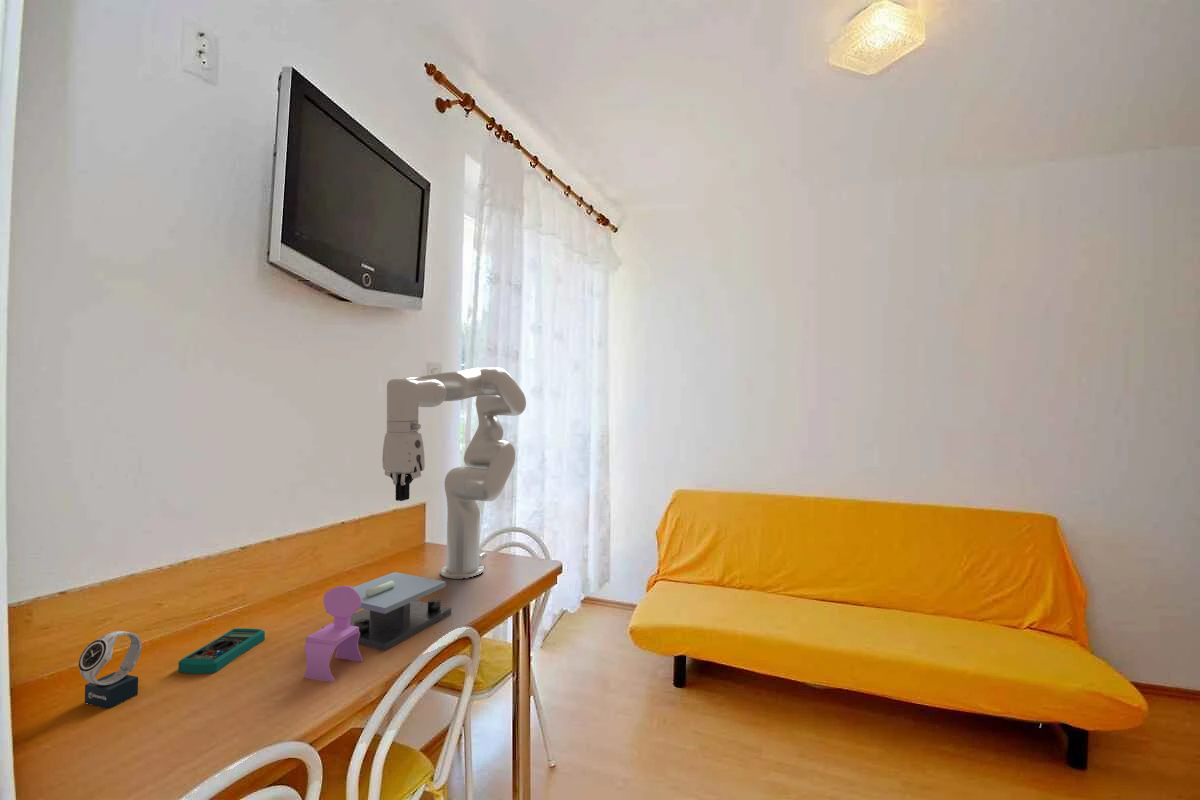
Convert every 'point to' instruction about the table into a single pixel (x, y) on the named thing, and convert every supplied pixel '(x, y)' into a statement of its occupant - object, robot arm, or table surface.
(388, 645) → the leveling stand
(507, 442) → the robot arm
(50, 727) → the table surface
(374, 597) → the plate
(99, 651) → the watch
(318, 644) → the toy chair
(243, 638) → the digital multimeter
